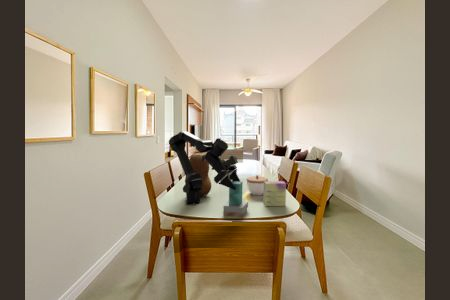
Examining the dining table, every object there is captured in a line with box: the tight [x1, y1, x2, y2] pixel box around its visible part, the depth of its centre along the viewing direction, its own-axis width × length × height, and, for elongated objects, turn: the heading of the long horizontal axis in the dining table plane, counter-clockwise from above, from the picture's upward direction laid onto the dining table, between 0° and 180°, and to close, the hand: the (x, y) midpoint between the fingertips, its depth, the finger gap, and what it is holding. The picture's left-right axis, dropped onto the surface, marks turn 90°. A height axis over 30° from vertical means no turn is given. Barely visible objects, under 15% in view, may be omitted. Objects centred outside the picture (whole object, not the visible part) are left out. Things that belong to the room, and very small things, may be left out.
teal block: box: [228, 180, 243, 206], centre depth 109 cm, size 5×5×10 cm
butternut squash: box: [189, 153, 212, 198], centre depth 135 cm, size 14×13×25 cm
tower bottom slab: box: [222, 208, 248, 218], centre depth 109 cm, size 9×9×2 cm
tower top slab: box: [223, 200, 249, 213], centre depth 109 cm, size 9×9×2 cm
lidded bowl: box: [246, 175, 269, 196], centre depth 140 cm, size 13×13×11 cm
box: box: [263, 180, 287, 207], centre depth 120 cm, size 10×6×12 cm, turn 92°
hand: (238, 186), depth 108 cm, fingers open, 9 cm apart
